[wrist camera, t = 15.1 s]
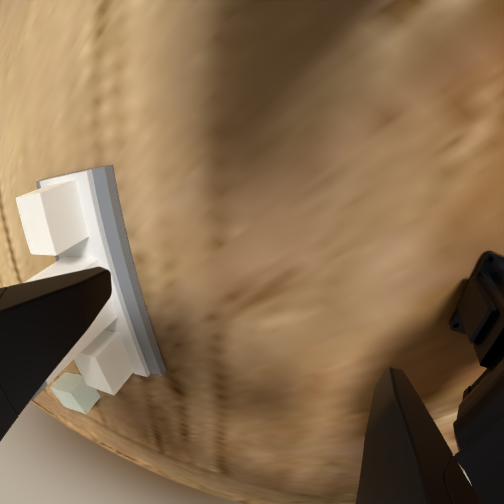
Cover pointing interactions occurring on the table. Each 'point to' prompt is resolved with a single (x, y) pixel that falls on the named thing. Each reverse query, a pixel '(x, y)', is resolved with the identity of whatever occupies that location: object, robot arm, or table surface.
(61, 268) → the block
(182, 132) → the table surface
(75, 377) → the box
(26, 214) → the board
